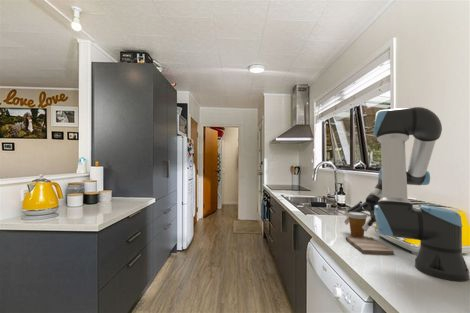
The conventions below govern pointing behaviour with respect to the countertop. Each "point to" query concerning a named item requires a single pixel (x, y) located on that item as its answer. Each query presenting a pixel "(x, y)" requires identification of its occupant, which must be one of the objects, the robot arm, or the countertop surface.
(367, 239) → the walnut board
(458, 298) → the countertop surface
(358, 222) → the disposable coffee cup
